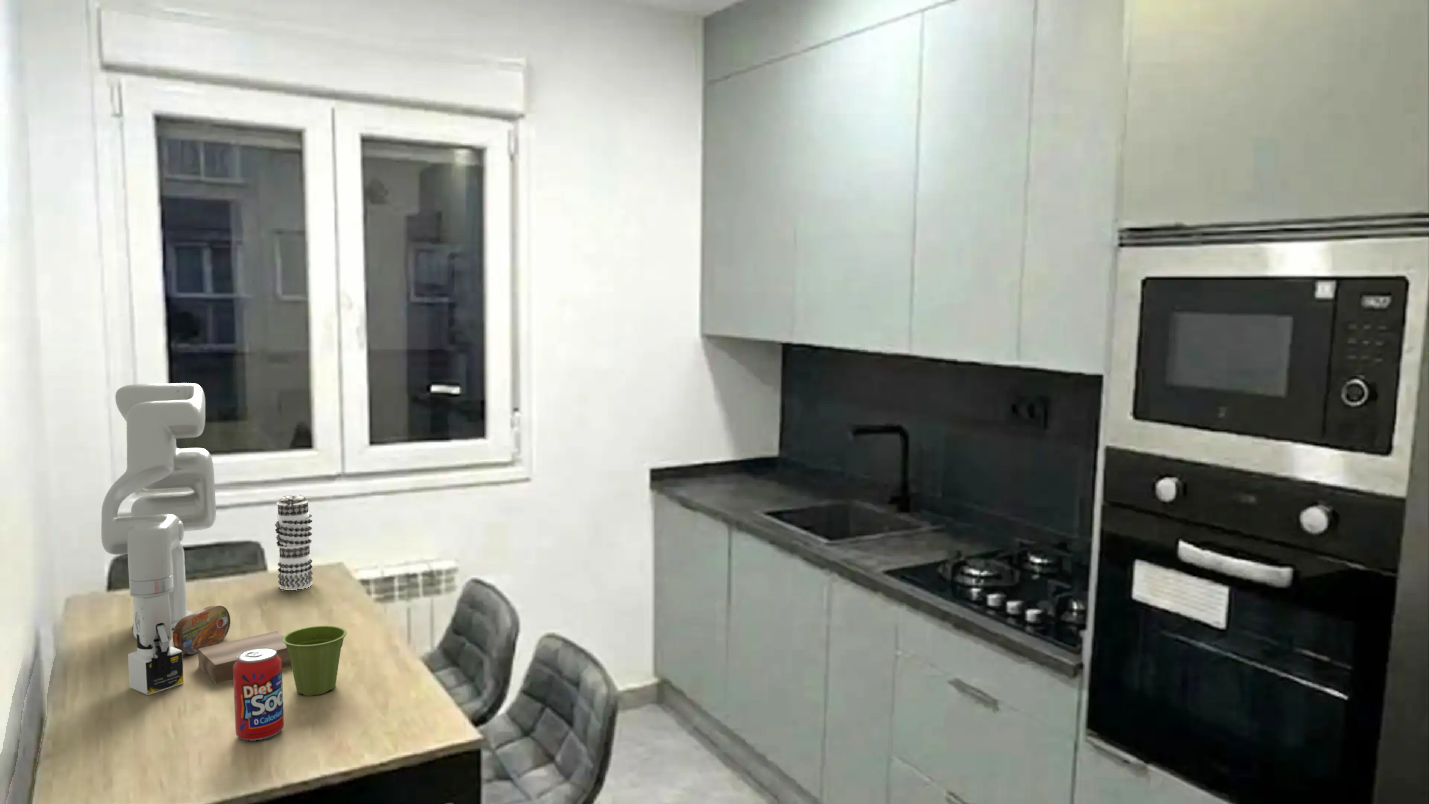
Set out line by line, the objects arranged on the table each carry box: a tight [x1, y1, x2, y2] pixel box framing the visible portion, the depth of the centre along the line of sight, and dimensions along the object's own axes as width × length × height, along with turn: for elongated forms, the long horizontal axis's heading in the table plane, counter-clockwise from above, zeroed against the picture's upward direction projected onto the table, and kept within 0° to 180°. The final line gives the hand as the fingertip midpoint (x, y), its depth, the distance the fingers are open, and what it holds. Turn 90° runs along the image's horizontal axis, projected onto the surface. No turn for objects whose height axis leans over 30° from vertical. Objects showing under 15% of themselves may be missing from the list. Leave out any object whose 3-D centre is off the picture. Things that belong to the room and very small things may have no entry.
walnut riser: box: [197, 630, 292, 685], centre depth 198 cm, size 12×16×4 cm
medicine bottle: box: [127, 634, 184, 696], centre depth 186 cm, size 7×7×12 cm
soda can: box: [232, 648, 285, 742], centre depth 166 cm, size 8×8×15 cm
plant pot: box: [282, 625, 348, 697], centre depth 186 cm, size 12×12×11 cm
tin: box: [172, 605, 231, 656], centre depth 207 cm, size 15×3×8 cm, turn 168°
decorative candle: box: [274, 494, 314, 591], centre depth 252 cm, size 9×9×25 cm
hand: (156, 668), depth 186 cm, fingers closed on medicine bottle, 8 cm apart
